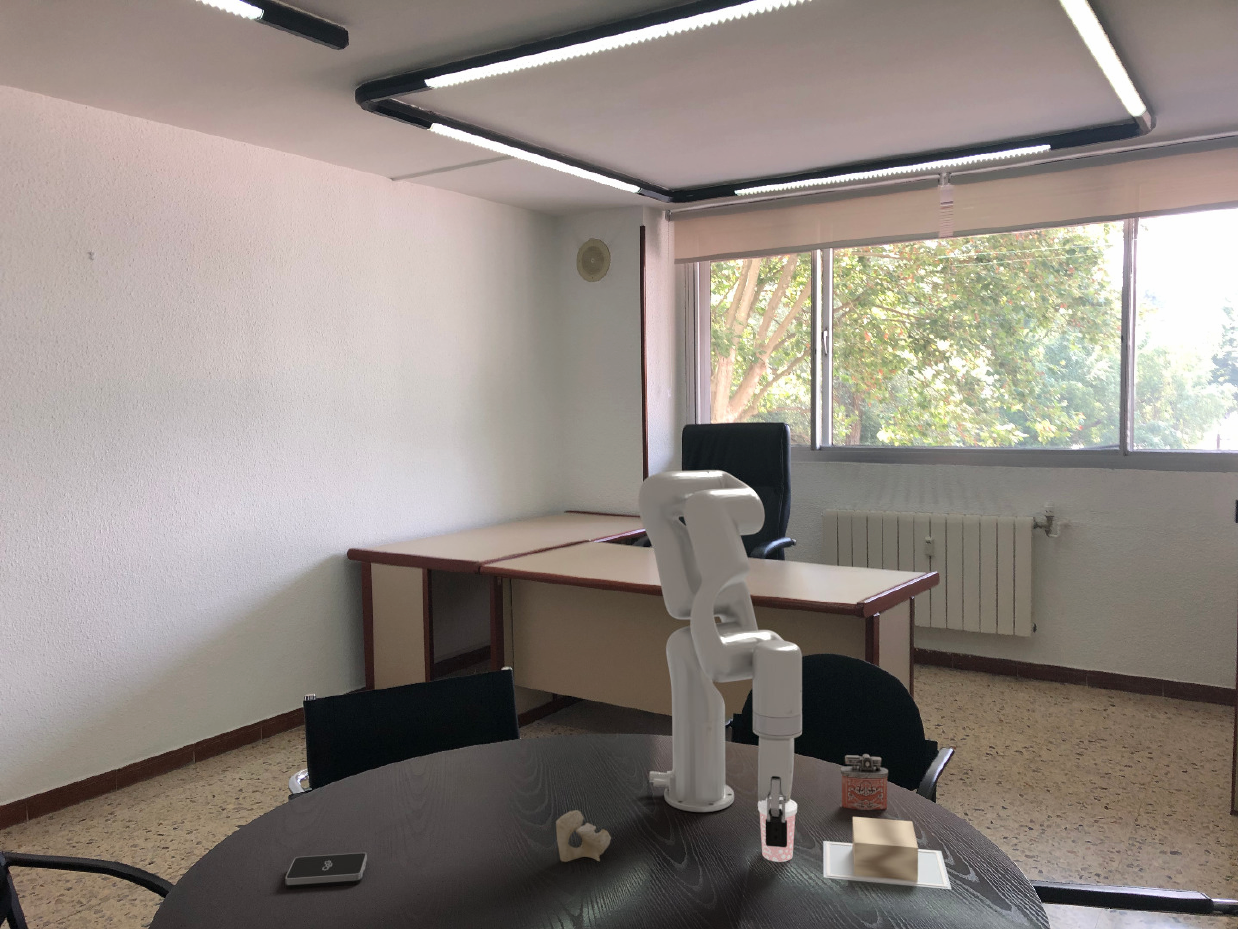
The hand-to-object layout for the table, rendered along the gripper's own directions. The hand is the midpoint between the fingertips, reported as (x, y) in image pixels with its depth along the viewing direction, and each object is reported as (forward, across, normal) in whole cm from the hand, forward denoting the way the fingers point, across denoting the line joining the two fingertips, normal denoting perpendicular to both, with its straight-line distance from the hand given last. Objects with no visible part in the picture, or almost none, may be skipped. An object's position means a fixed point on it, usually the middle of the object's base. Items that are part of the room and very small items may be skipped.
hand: (777, 834), depth 145 cm
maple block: (+3, 0, +16) cm, 16 cm away
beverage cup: (+5, 0, 0) cm, 5 cm away
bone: (+5, +4, -30) cm, 31 cm away
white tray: (+4, 0, +16) cm, 17 cm away
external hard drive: (+5, +18, -67) cm, 70 cm away
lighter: (+5, -21, +14) cm, 26 cm away
